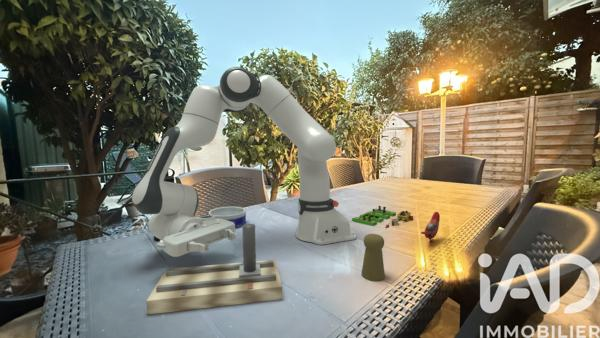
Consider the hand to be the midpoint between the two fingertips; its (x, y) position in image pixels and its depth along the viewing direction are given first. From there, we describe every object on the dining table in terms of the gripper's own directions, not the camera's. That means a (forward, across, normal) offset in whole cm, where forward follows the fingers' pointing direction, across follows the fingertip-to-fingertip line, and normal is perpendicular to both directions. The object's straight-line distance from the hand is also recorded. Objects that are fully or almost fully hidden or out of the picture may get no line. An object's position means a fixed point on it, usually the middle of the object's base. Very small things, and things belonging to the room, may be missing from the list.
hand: (221, 242), depth 71 cm
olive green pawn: (+34, +22, +9) cm, 41 cm away
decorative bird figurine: (+43, +54, +9) cm, 70 cm away
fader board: (+5, -5, +9) cm, 11 cm away
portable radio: (-39, +7, +9) cm, 40 cm away
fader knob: (+10, 0, +6) cm, 12 cm away
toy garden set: (+22, +73, +10) cm, 77 cm away
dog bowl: (-32, +31, +10) cm, 46 cm away
